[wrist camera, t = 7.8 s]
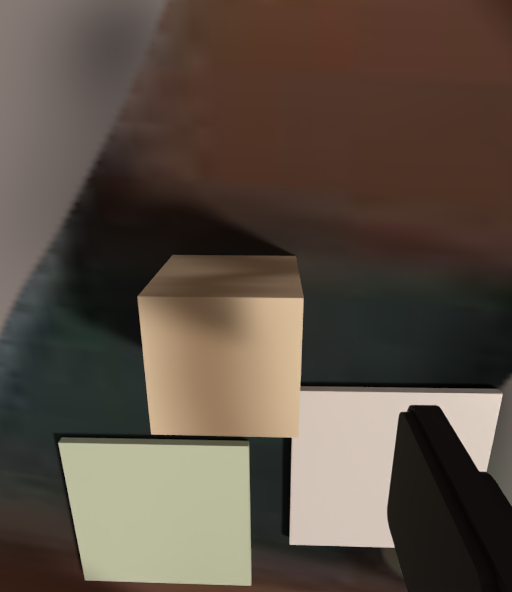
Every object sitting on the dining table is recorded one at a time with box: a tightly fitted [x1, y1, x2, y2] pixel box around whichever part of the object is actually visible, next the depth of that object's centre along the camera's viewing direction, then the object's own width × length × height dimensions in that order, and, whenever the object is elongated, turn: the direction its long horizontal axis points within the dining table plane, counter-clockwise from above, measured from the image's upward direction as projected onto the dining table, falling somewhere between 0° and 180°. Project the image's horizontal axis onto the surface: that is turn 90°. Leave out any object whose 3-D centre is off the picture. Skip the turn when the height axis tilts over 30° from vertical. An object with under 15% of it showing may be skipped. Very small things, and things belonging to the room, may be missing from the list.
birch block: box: [137, 255, 304, 438], centre depth 16 cm, size 5×5×5 cm
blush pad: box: [289, 386, 503, 548], centre depth 21 cm, size 9×9×1 cm
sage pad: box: [58, 437, 251, 586], centre depth 22 cm, size 9×9×1 cm
